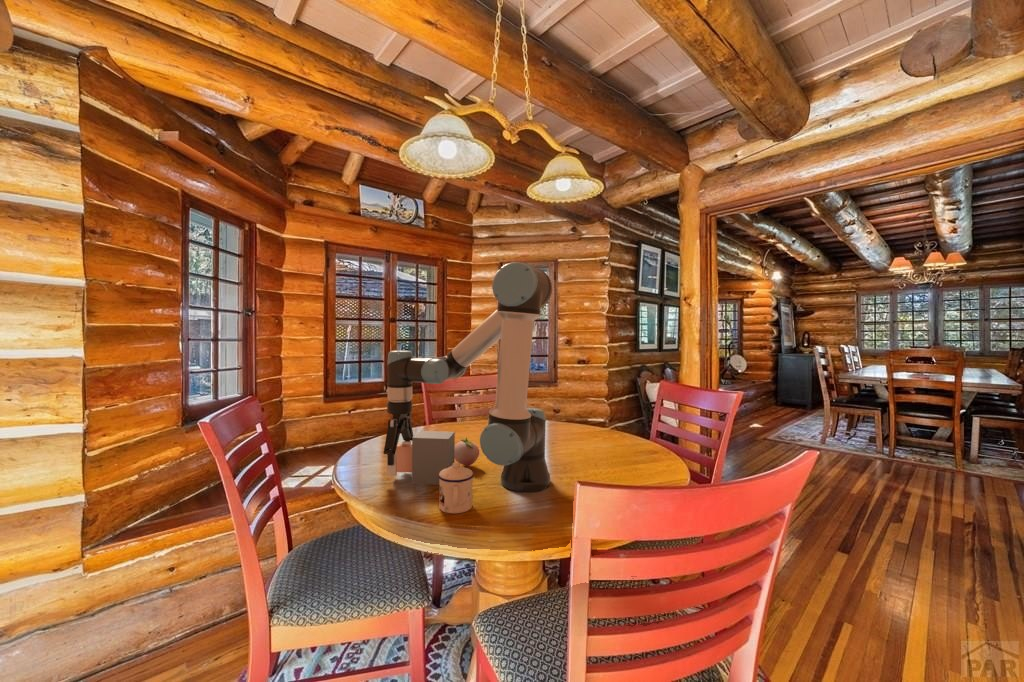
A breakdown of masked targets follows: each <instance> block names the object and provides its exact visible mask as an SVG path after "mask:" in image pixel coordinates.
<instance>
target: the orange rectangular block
mask: <svg viewBox="0 0 1024 682" xmlns="http://www.w3.org/2000/svg"><path fill="white" fill-rule="evenodd" d="M395 453H397V473H411V474H412V444H411V445H410V444H402V443H400V444H399V443H398V444H397V448H396V452H395Z"/></svg>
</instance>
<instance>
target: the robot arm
mask: <svg viewBox="0 0 1024 682" xmlns="http://www.w3.org/2000/svg"><path fill="white" fill-rule="evenodd" d="M491 287H492V288H491V289H492V294H493V296H494V297H495V299H496V301H497V309H496V310H495V311H494V312H492V313H491V314H490V315H489V316H488V317H487V318H486V319H484V321H482V322H481V323H480V324H479V325H478V326H477V327H476V328H475V329H473V330H472V331H471V332H470V333H469V334H468V335H466V336H465V338H463V339H462V340H461V341H459V342H458V344H457V345H456V346H455V347H453V348H452V350H450V351H449V352H448V353H447V354H446V355H444V356H436V357H414V355H413V352H412V351H411V350H391V351H389V352H388V354H387V362H386V363H387V364H386V366H387V389H386V390H385V392H386V393H387V400H388V401H387V404H386V407H387V408H386V409H387V410H386V411H387V414H390V415H392V418H391V419H388V420H387V429H386V437H385V441H384V442H385V443H384V448H383V455H386V476H389V477H392V476H393V477H396V476H397V473H398V472H397V453H395V452H396V448H397V444H399V439H400V435H401V437H402V442H401V444H410V445H412V438H413V437H414V433H413V432H414V431H413V425H412V418H411V413H413V400H412V399H413V383H419V384H420V383H421V384H430V385H442V384H443V383H444V382H445V381H446V380H451V379H452V380H453V379H458V378H460V377H462V376H463V375H465V373H466V372H467V368H468V367H470V365H471V364H473V363H474V362H475V361H476V360H477V359H478V358H480V357H481V356H482V355H483V354H484V353H485V352H487V351H488V350H489V349H490V348H491V347H493V345H494V344H496V343H497V342H499V340H500V342H499V353H498V366H497V378H496V380H497V381H496V389H495V401H494V402H495V403H494V406H493V407H492V408H490V410H489V411H488V419H487V425H486V426H485V427H484V428H483V430H482V431H481V434H480V438H479V445H480V449H481V452H482V454H483V455H484V456H485V457H486V458H487V459H488V460H489V462H491V463H493V464H495V465H498V466H502V467H503V469H502V471H501V473H500V483H501V484H500V485H502V486H503V487H504V488H506V489H509V490H510V491H515V492H516V491H517V492H523V493H524V492H525V493H526V492H527V493H529V492H531V491H532V492H539V491H542V489H543V490H545V489H548V488H549V487H550V485H551V474H550V472H549V468H548V466H547V462H546V423H547V419H546V412H545V410H544V409H540V408H536V407H535V408H534V407H527V403H528V401H527V400H528V391H529V390H528V389H529V378H530V369H531V368H530V367H531V366H530V365H531V357H532V355H531V354H532V343H533V335H534V322H535V321H536V319H538V318H539V317H540V315H541V309H542V308H543V307H545V306H546V304H548V302H549V301H550V299H551V297H552V294H553V283H552V279H551V278H550V276H549V275H548V274H547V273H546V272H545V271H544V270H543V269H540V268H536V267H534V266H532V265H531V264H528V263H526V262H520V261H519V262H518V261H512V262H509V263H505V264H503V266H501V267H500V268H499V269H498V270H497V272H496V273H495V275H494V277H493V280H492V286H491ZM548 486H549V487H548ZM532 492H531V493H532Z"/></svg>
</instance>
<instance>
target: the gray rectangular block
mask: <svg viewBox="0 0 1024 682" xmlns="http://www.w3.org/2000/svg"><path fill="white" fill-rule="evenodd" d="M455 434H456V433H455V431H447V430H442V431H439V430H420V431H418V432H417V433H416V434H415V435H413V438H412V441H411V445H412V473H411V484H412V485H426V484H427V485H428V486H429V485H431V486H439V473H440V472H441V471H442V470H444V469H446V468H449V467H451V466H452V464H453V463H454V462H455V458H454V456H455V445H456V442H455V441H456V439H455V438H456V437H455V436H456V435H455Z"/></svg>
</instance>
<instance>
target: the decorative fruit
mask: <svg viewBox="0 0 1024 682" xmlns="http://www.w3.org/2000/svg"><path fill="white" fill-rule="evenodd" d="M479 456H480V449H479V447H478V445H477V444H476V443H475V442H472V441H470V440H468V437H466V438H461V439H460V441H458V442H457V443H455V456H454V461H455V462H458V463H460V465H461V466H463V467H464V468H468V467H469V466H471V465H474V463H476V461H478V458H479Z"/></svg>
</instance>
